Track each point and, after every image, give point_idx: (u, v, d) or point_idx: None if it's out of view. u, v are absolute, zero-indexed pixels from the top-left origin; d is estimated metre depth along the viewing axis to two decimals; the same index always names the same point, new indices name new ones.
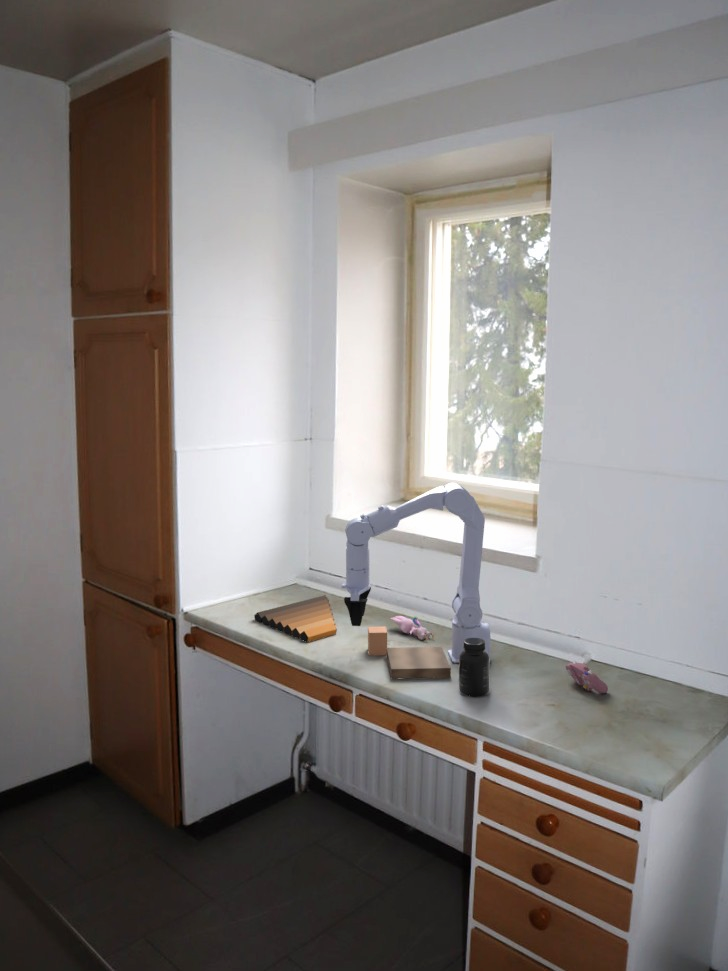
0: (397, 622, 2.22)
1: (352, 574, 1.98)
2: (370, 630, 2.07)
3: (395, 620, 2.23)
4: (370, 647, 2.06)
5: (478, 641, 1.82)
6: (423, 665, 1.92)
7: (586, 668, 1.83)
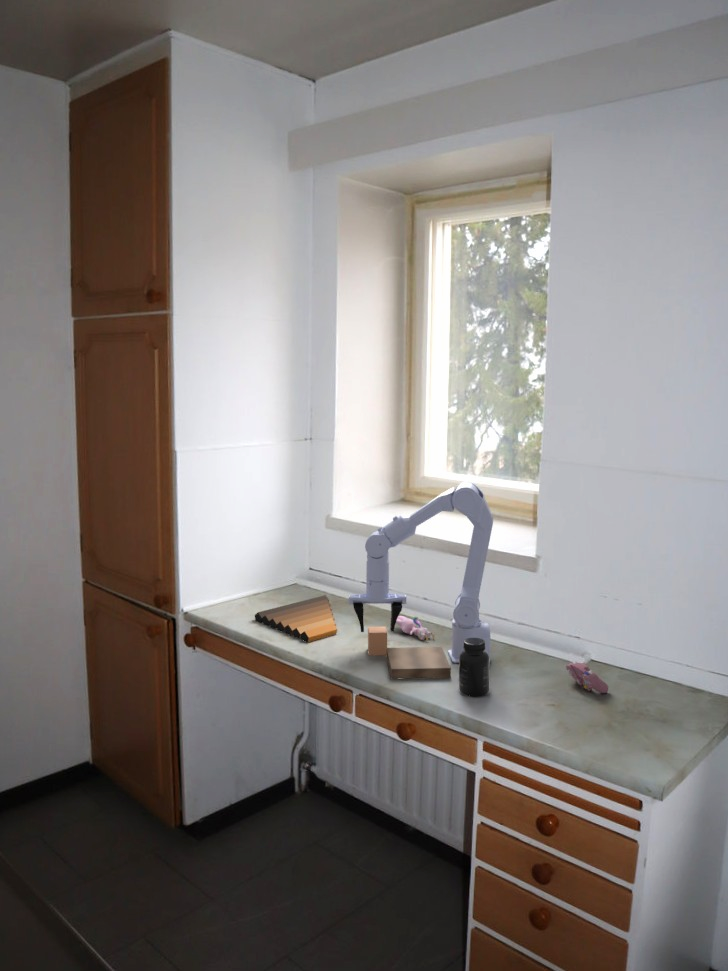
0: (398, 622, 2.22)
1: None
2: (370, 630, 2.07)
3: None
4: (370, 647, 2.06)
5: (478, 641, 1.82)
6: (423, 665, 1.92)
7: (586, 668, 1.84)
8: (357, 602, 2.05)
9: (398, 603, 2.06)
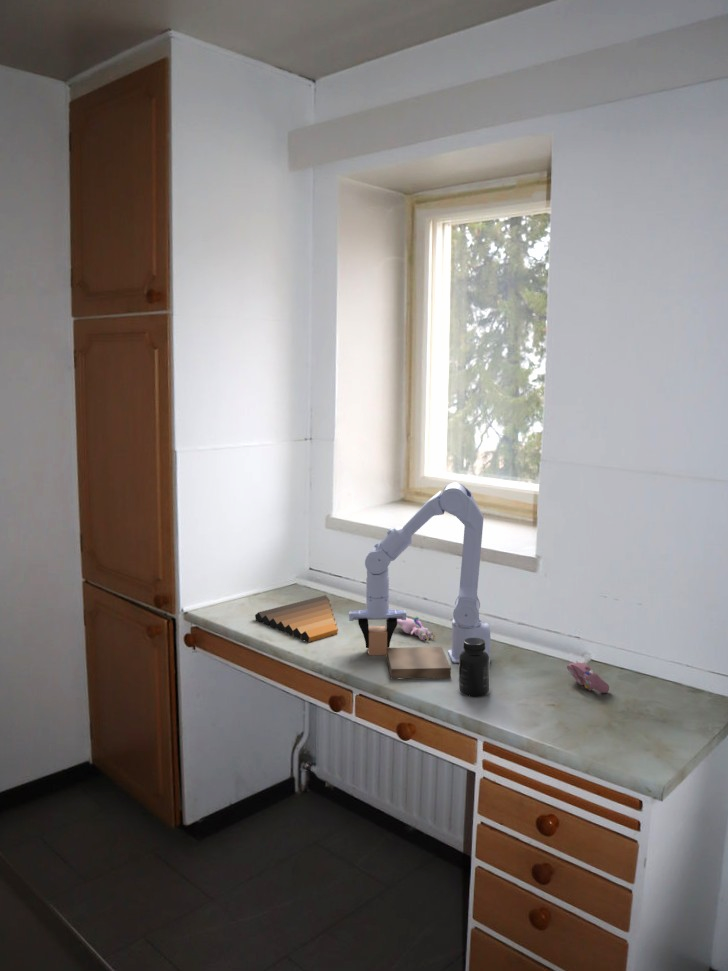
0: (399, 622, 2.22)
1: None
2: (370, 630, 2.07)
3: (397, 620, 2.23)
4: (370, 647, 2.06)
5: (478, 641, 1.82)
6: (423, 665, 1.92)
7: (587, 668, 1.84)
8: (357, 618, 2.06)
9: None
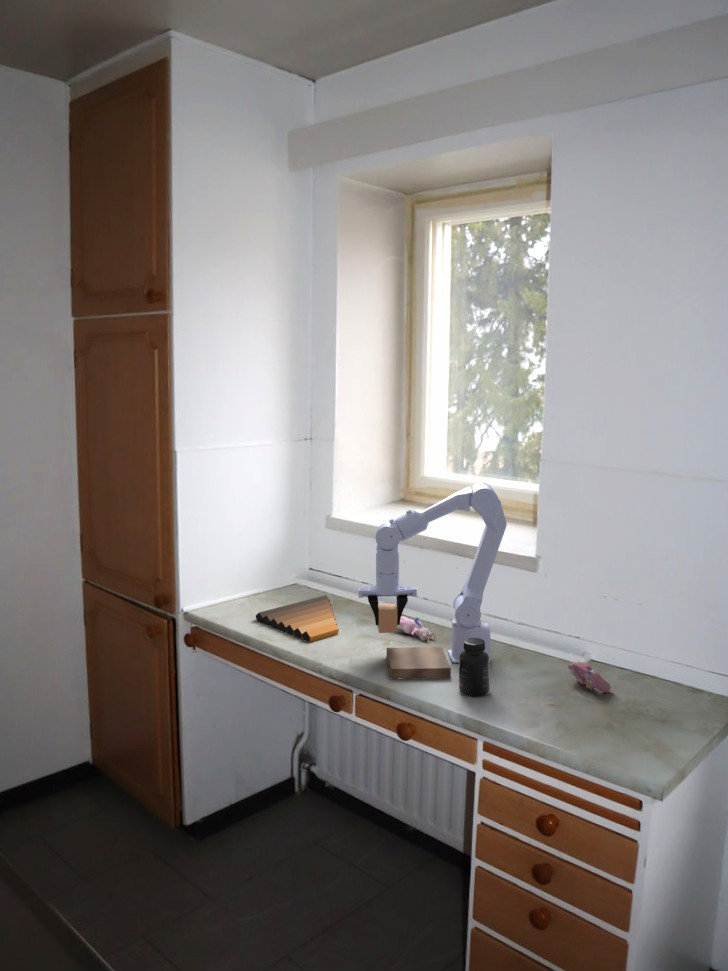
0: None
1: None
2: (380, 607, 2.03)
3: None
4: (380, 624, 2.02)
5: (478, 641, 1.82)
6: (423, 665, 1.92)
7: (589, 667, 1.84)
8: (367, 595, 2.03)
9: None
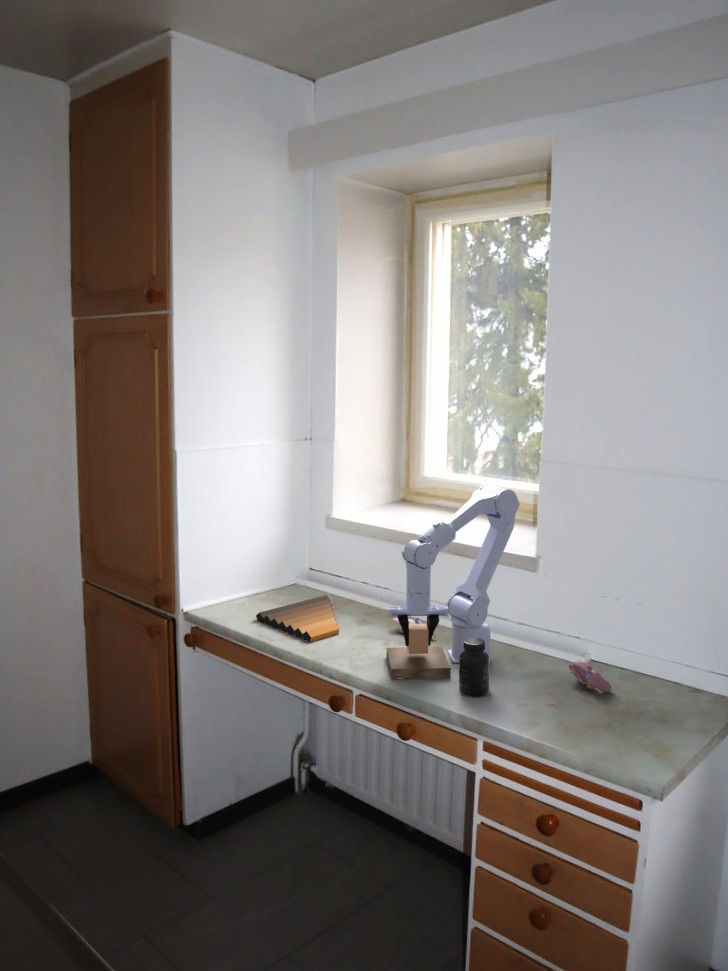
0: (399, 623, 2.22)
1: None
2: (410, 627, 1.96)
3: (397, 621, 2.22)
4: (410, 645, 1.95)
5: (478, 641, 1.82)
6: (423, 665, 1.92)
7: (589, 667, 1.84)
8: (396, 614, 1.95)
9: (440, 615, 1.95)
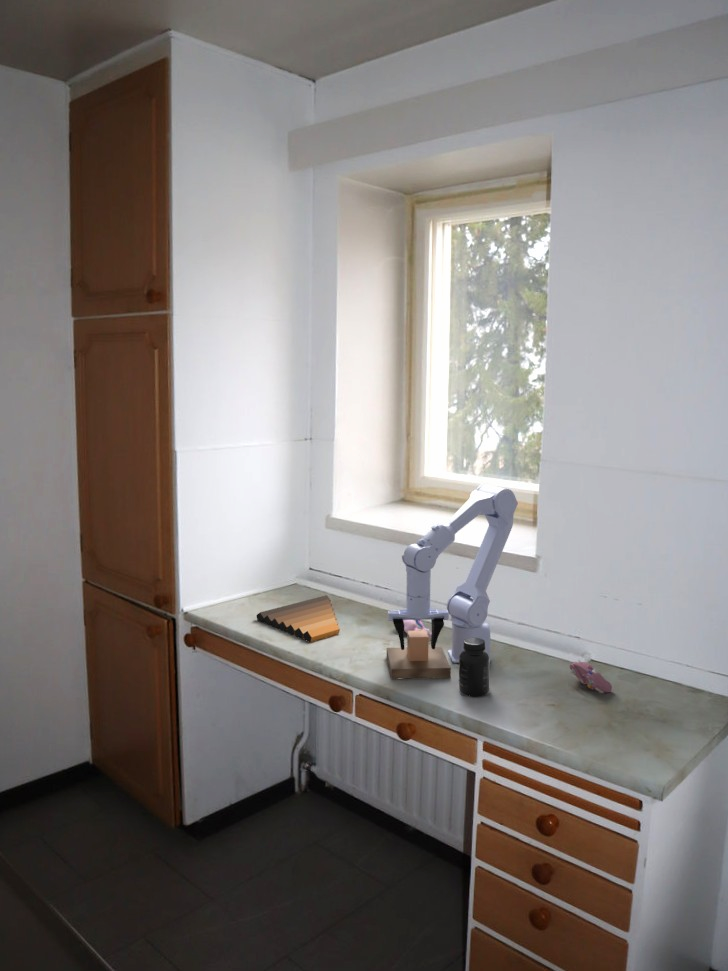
0: None
1: None
2: (410, 634, 1.96)
3: None
4: (410, 652, 1.95)
5: (478, 641, 1.82)
6: (423, 665, 1.92)
7: (590, 667, 1.84)
8: (396, 618, 1.95)
9: (440, 619, 1.95)
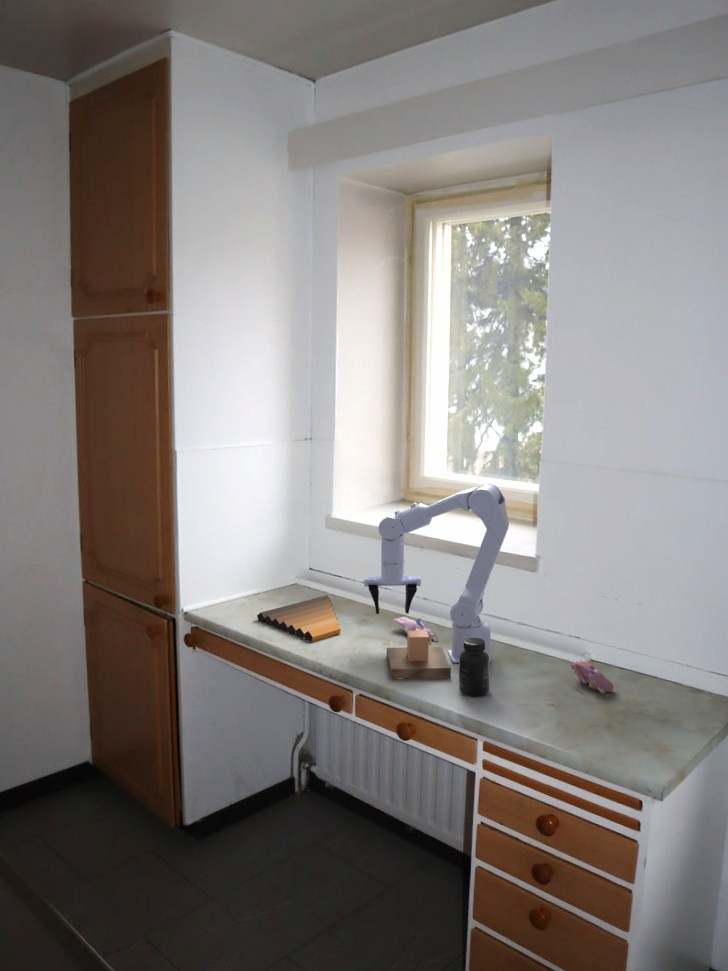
0: (401, 623, 2.21)
1: None
2: (410, 634, 1.96)
3: (399, 621, 2.22)
4: (410, 652, 1.95)
5: (478, 641, 1.82)
6: (423, 665, 1.92)
7: (592, 667, 1.84)
8: (372, 584, 2.08)
9: (413, 585, 2.08)
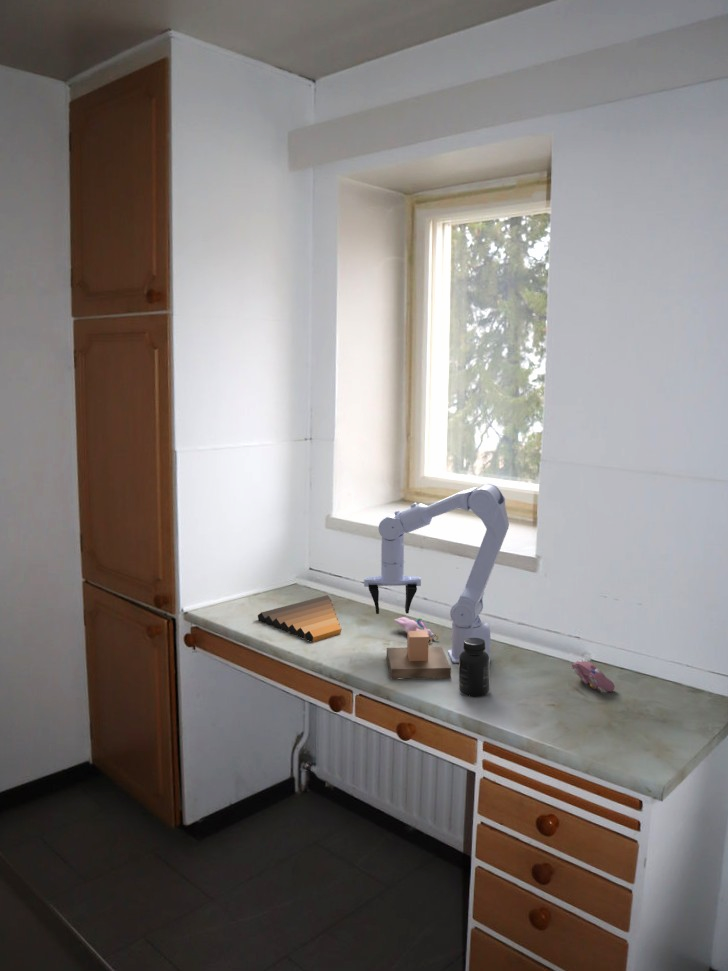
0: (401, 624, 2.21)
1: None
2: (410, 634, 1.96)
3: (399, 622, 2.22)
4: (410, 652, 1.95)
5: (478, 641, 1.82)
6: (423, 665, 1.92)
7: (593, 666, 1.84)
8: (372, 584, 2.08)
9: (413, 585, 2.08)
